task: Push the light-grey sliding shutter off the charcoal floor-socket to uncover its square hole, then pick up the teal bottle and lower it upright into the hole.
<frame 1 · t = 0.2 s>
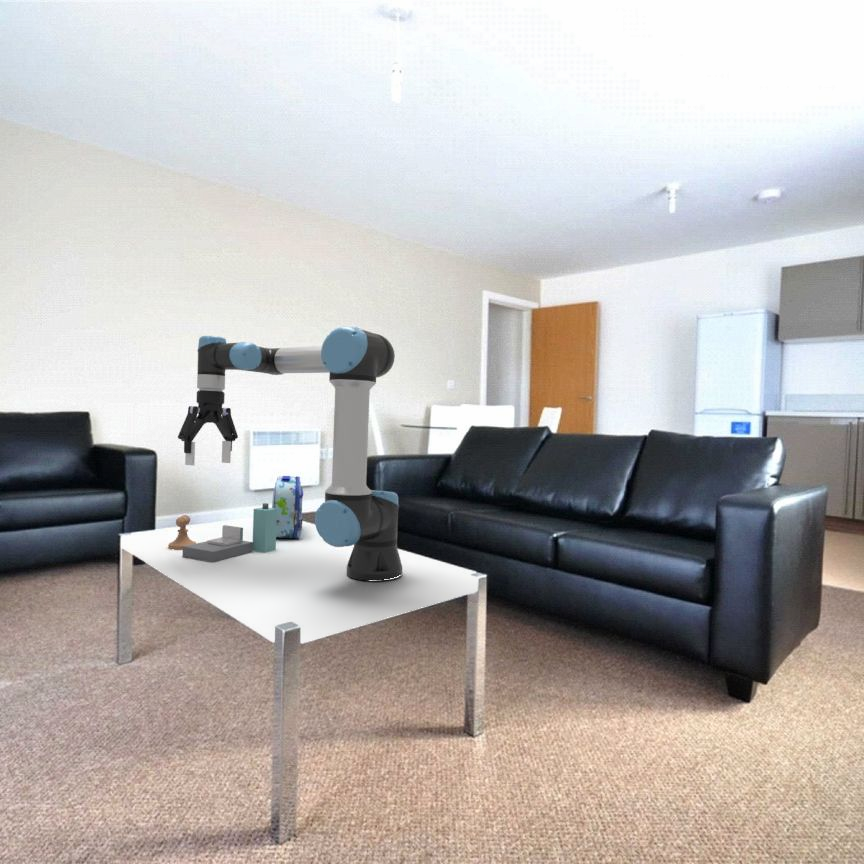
hand: (208, 464, 168), 28 cm above the table, fingers open, 13 cm apart
socket: (218, 554, 175), on the table
shutter: (225, 535, 177), point 5 cm above the table, slide at 0.0 cm
teal bottle: (264, 549, 183), on the table
brown chess pawn: (182, 547, 183), on the table
lunch box: (286, 534, 209), on the table
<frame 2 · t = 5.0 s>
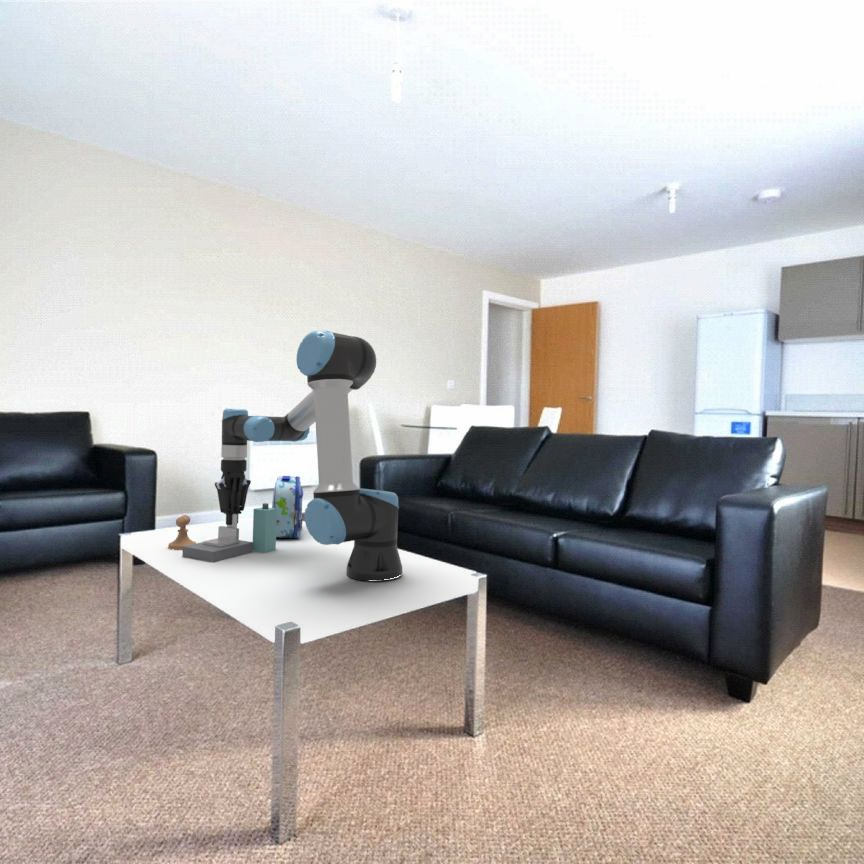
hand: (231, 534, 179), 5 cm above the table, fingers closed
shutter: (221, 536, 176), point 5 cm above the table, slide at 1.7 cm, touching gripper
everything else where it was.
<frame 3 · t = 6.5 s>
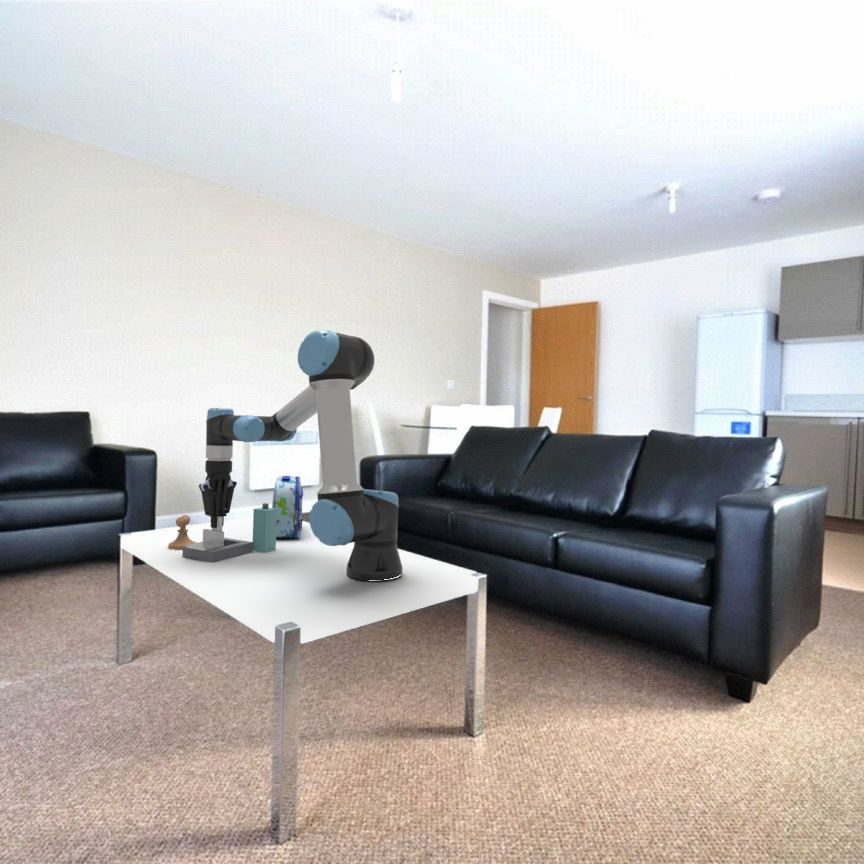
hand: (216, 538, 174), 5 cm above the table, fingers closed
shutter: (205, 539, 170), point 5 cm above the table, slide at 7.7 cm, touching gripper
everything else where it was.
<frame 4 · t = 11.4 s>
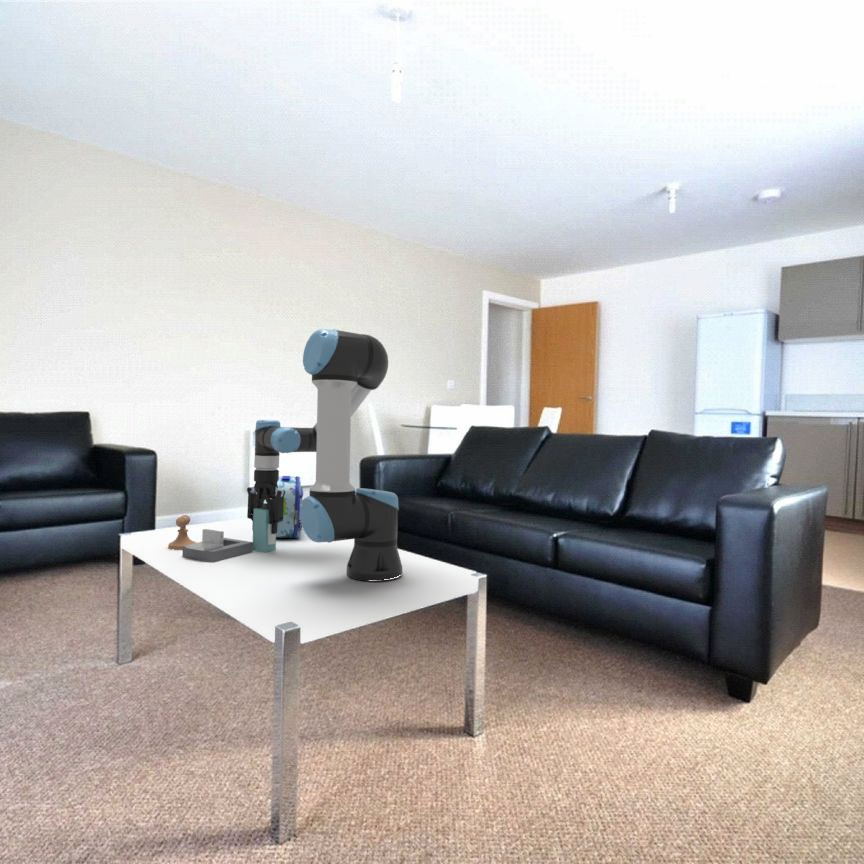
hand: (264, 542, 183), 2 cm above the table, fingers closed on teal bottle, 5 cm apart
shutter: (204, 539, 170), point 5 cm above the table, slide at 7.9 cm
teal bottle: (264, 549, 183), on the table, touching gripper
everything else where it was.
when the fingers open (4 cm above the table, at t = 16.9 s): teal bottle drops 2 cm, resting in socket.
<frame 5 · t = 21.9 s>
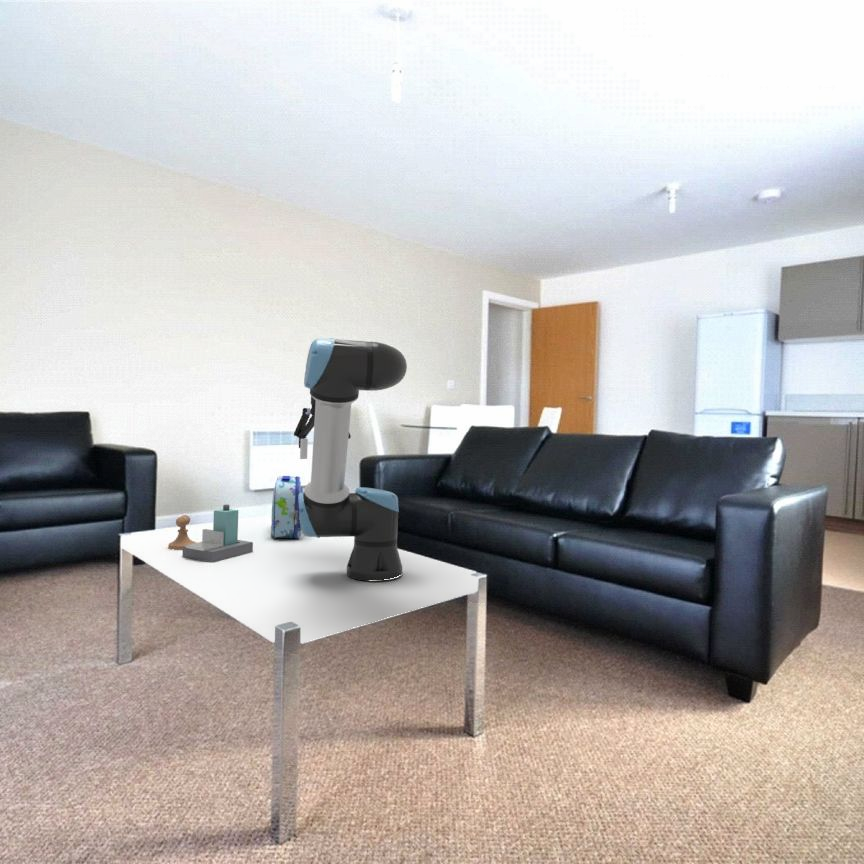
hand: (320, 460, 184), 29 cm above the table, fingers open, 13 cm apart
teal bottle: (224, 552, 177), resting in socket
everything else where it was.
at the end: teal bottle 0.0 cm from the target spot on the socket, point 0.0 cm above the socket's base; teal bottle tilted 0°; shutter slide at 7.9 cm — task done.
